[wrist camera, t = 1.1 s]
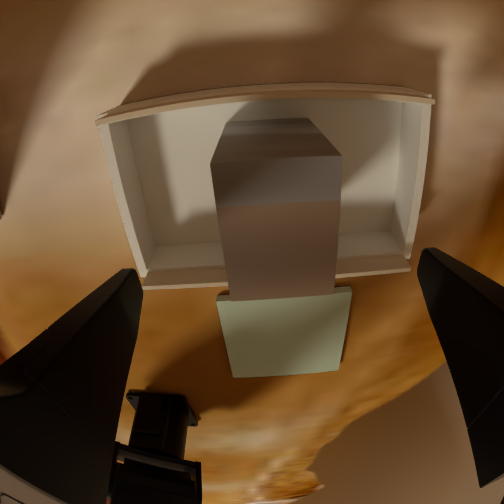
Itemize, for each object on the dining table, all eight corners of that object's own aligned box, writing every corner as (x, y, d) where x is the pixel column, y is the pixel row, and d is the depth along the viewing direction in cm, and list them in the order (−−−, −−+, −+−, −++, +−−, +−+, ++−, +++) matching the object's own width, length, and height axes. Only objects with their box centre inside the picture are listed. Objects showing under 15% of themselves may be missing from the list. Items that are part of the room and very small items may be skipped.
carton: (393, 233, 19) (418, 271, 15) (152, 249, 19) (134, 291, 16) (405, 87, 14) (444, 98, 10) (119, 105, 14) (84, 121, 11)
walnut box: (309, 216, 18) (333, 294, 12) (237, 220, 18) (231, 301, 12) (307, 117, 15) (342, 155, 9) (226, 122, 15) (209, 163, 9)
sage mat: (337, 364, 26) (338, 370, 26) (233, 372, 27) (233, 377, 26) (350, 286, 21) (352, 291, 21) (217, 295, 22) (216, 301, 21)
